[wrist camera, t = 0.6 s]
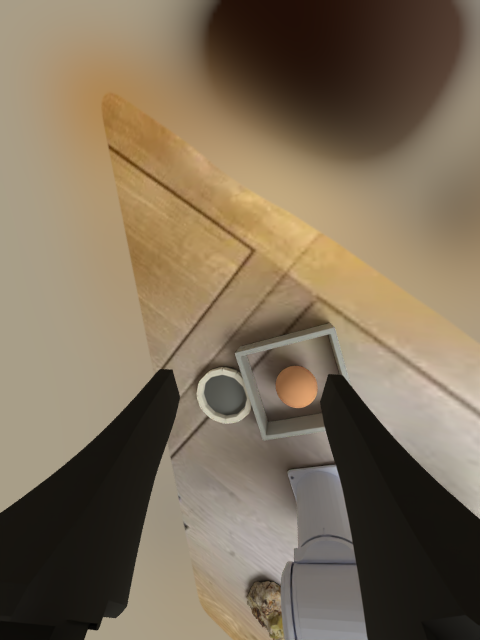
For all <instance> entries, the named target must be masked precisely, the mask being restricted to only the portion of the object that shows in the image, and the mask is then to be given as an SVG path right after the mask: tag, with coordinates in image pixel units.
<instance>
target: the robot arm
mask: <svg viewBox="0 0 480 640" xmlns="http://www.w3.org/2000/svg"><path fill="white" fill-rule="evenodd" d="M179 399H180V395H179V392H178V388H177V384H176V381H175V377H174V374H173V370H168V369H160V370H158V372H157V373H156V374H155V375H154V376H153V377H152V379H151V380H150V381H149V382H148V383H147V384H146V385H145V387H144V388H143V389H142V390H141V391H140V392H139V394H138V395H137V396H136V397H135V398H134V399H133V400H132V401H131V402H130V403H129V404H128V406H127V407H126V408H125V409H124V410H123V411H122V412H121V413H120V414H119V415H118V416H117V417H116V418H115V419H114V420H113V421H112V422H111V423H110V424H109V425H108V426H107V427H106V428H105V429H104V430H103V431H102V432H101V433H100V434H99V435H98V436H97V437H96V438H95V439H94V440H93V441H91V442H90V443H89V444H88V445H87V446H86V447H85V448H84V449H83V450H81V451H80V452H79V453H78V454H77V455H76V456H74V457H73V458H72V459H71V460H70V461H69V462H67V463H66V464H65V465H64V466H62V467H61V468H60V469H59V470H58V471H56V472H55V473H54V474H52V475H51V476H50V477H49V478H47V479H46V480H45V481H43V482H42V483H41V484H39V485H38V486H37V487H36V488H34V489H33V490H32V491H30V492H29V493H27V494H26V495H25V496H24V497H22V498H21V499H19V500H18V501H17V502H15V503H14V504H13V505H11V506H10V507H8V508H7V509H6V510H4V511H3V512H1V513H0V640H84V638H85V635H86V633H87V630H88V629H90V630H98V629H99V627H100V624H101V621H102V618H103V617H109V618H116V617H118V616H119V615H120V614H121V613H122V612H123V611H124V609H125V608H126V607H127V604H128V598H129V592H130V587H131V582H132V577H133V572H134V566H135V562H136V557H137V552H138V547H139V543H140V538H141V533H142V529H143V525H144V520H145V516H146V512H147V507H148V503H149V500H150V496H151V491H152V488H153V484H154V480H155V476H156V473H157V470H158V467H159V464H160V461H161V458H162V455H163V452H164V449H165V446H166V444H167V441H168V438H169V435H170V432H171V429H172V426H173V423H174V420H175V417H176V413H177V408H178V404H179ZM320 404H321V410H322V416H323V422H324V426H325V430H326V433H327V437H328V440H329V444H330V447H331V451H332V454H333V457H334V461H335V464H336V465H327V466H318V467H310V468H301V469H292V470H289V471H288V477H289V480H290V483H291V487H292V490H293V493H294V496H295V499H296V502H297V525H298V548H295V549H294V562H291V561H289V562H287V564H286V566H285V568H284V570H283V572H282V578H281V611H282V623H283V631H284V637H285V640H480V519H479V518H478V517H477V516H475V515H474V514H473V513H472V512H471V511H470V510H469V509H467V508H466V507H465V506H464V505H463V504H462V503H461V502H460V501H458V500H457V499H456V498H455V497H454V496H453V495H452V494H450V493H449V492H448V491H447V490H446V489H445V488H444V487H443V486H442V485H440V484H439V483H438V482H437V481H436V480H435V479H434V478H433V477H432V476H431V475H430V474H429V473H428V472H427V471H426V470H425V469H424V468H423V467H422V466H421V465H420V464H419V463H418V462H417V461H416V460H415V459H414V458H413V457H412V456H411V455H410V454H409V453H408V452H407V451H406V450H405V449H404V448H403V447H402V446H401V445H400V444H399V443H398V442H397V441H396V439H395V438H394V437H393V436H392V435H391V434H390V433H389V432H388V431H387V429H386V428H385V427H384V426H383V425H382V424H381V423H380V421H379V420H378V419H377V418H376V417H375V415H374V414H373V413H372V412H371V411H370V409H369V408H368V407H367V406H366V404H365V403H364V402H363V401H362V399H361V398H360V397H359V396H358V394H357V393H356V392H355V390H354V389H353V388H352V386H351V385H350V384H349V383H348V381H347V380H346V379H345V377H344V376H343V375H334V374H328V377H327V381H326V384H325V388H324V391H323V394H322V398H321V401H320ZM291 476H293V477H291Z"/></svg>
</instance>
